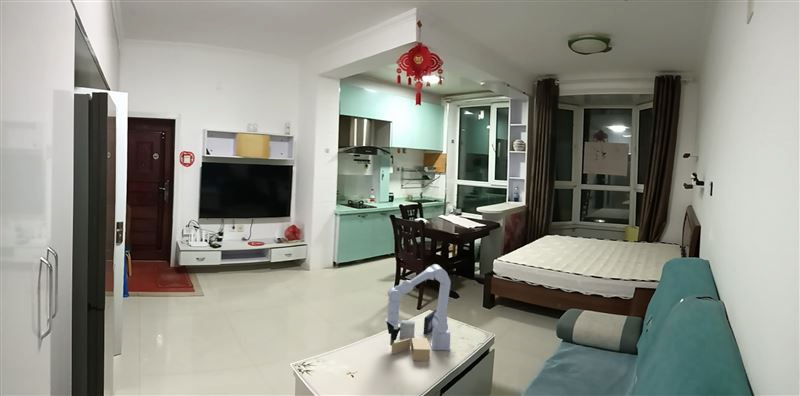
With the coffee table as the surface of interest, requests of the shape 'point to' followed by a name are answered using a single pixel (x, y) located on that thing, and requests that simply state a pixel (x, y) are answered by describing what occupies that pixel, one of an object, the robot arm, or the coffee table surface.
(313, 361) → the coffee table surface
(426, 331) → the vhs cassette tape
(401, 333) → the medicine box
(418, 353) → the carton
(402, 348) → the wooden box lid
